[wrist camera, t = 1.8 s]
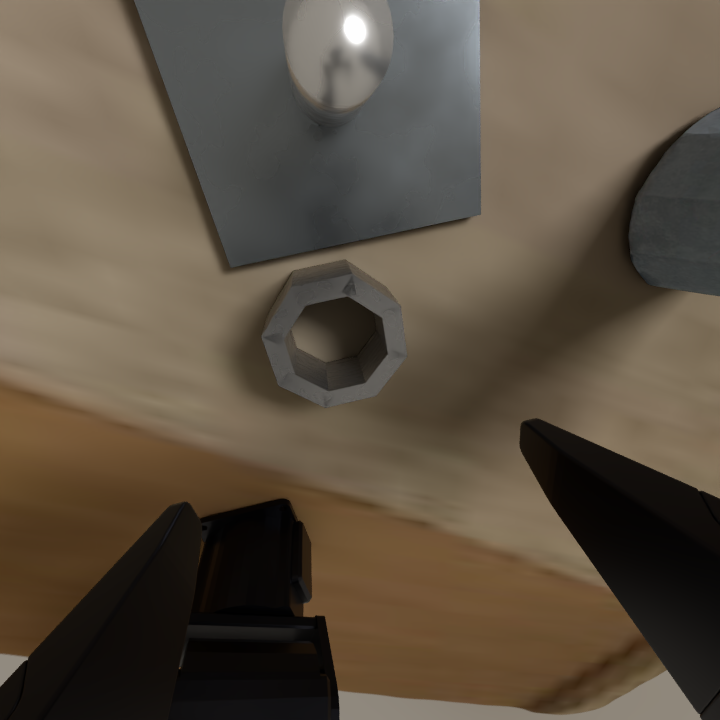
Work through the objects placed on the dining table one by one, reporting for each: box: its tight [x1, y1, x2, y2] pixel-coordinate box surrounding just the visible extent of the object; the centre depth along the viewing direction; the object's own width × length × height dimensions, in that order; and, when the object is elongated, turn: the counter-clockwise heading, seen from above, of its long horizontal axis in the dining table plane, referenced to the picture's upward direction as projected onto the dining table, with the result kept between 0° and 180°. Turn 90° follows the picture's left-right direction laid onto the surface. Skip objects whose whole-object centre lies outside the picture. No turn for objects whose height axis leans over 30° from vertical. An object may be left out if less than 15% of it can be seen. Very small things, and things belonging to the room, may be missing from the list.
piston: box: [134, 0, 481, 268], centre depth 11 cm, size 12×12×5 cm
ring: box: [261, 260, 407, 408], centre depth 17 cm, size 6×6×3 cm
